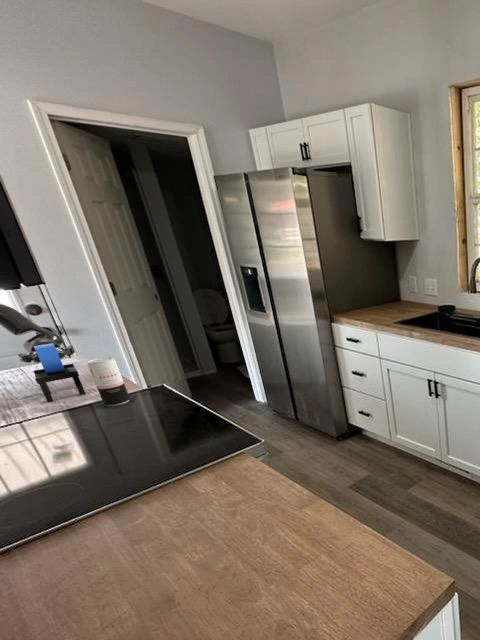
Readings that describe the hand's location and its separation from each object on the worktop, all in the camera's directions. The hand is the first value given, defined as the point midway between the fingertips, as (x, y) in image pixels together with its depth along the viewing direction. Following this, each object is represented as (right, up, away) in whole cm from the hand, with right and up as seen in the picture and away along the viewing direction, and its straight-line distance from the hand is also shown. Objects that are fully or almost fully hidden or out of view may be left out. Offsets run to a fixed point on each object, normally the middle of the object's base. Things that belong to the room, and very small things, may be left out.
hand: (49, 357), depth 140 cm
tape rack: (-2, -13, +7) cm, 14 cm away
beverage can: (+27, -15, -3) cm, 31 cm away
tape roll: (-2, -5, +4) cm, 6 cm away
